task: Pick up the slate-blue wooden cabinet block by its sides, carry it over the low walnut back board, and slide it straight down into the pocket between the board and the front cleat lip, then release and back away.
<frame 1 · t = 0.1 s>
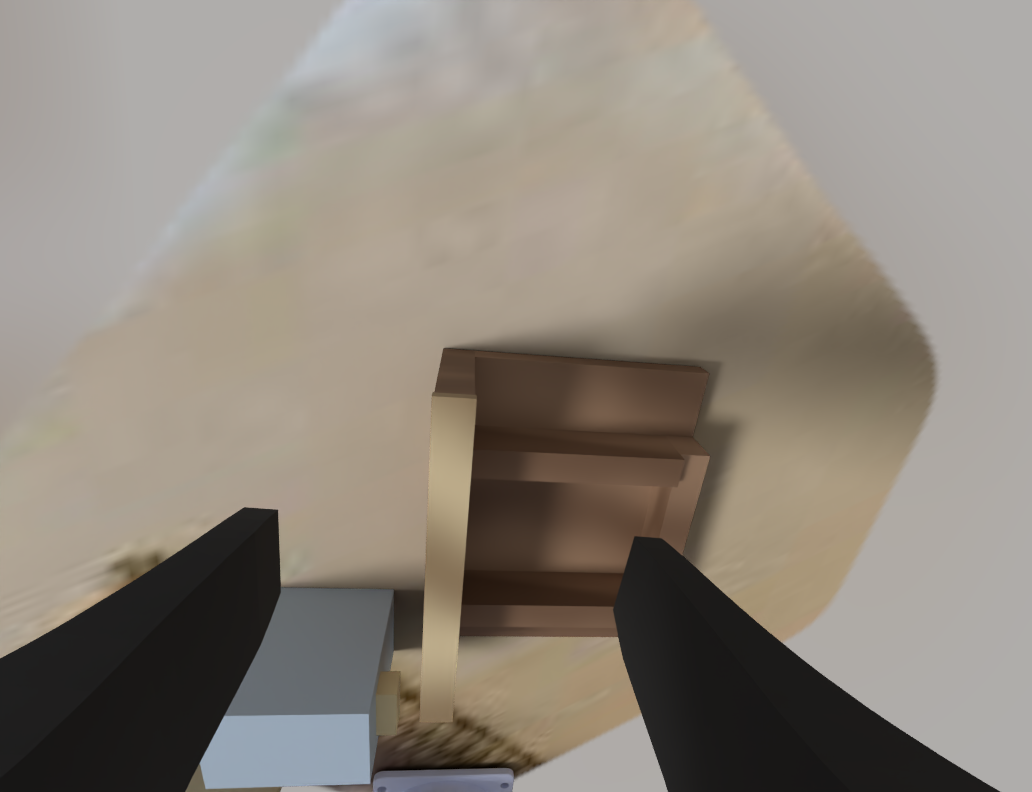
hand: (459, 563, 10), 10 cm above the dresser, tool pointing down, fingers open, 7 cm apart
rack: (553, 506, 21), on the dresser
skincare box: (227, 765, 26), on the dresser
cabinet block: (330, 619, 23), on the dresser
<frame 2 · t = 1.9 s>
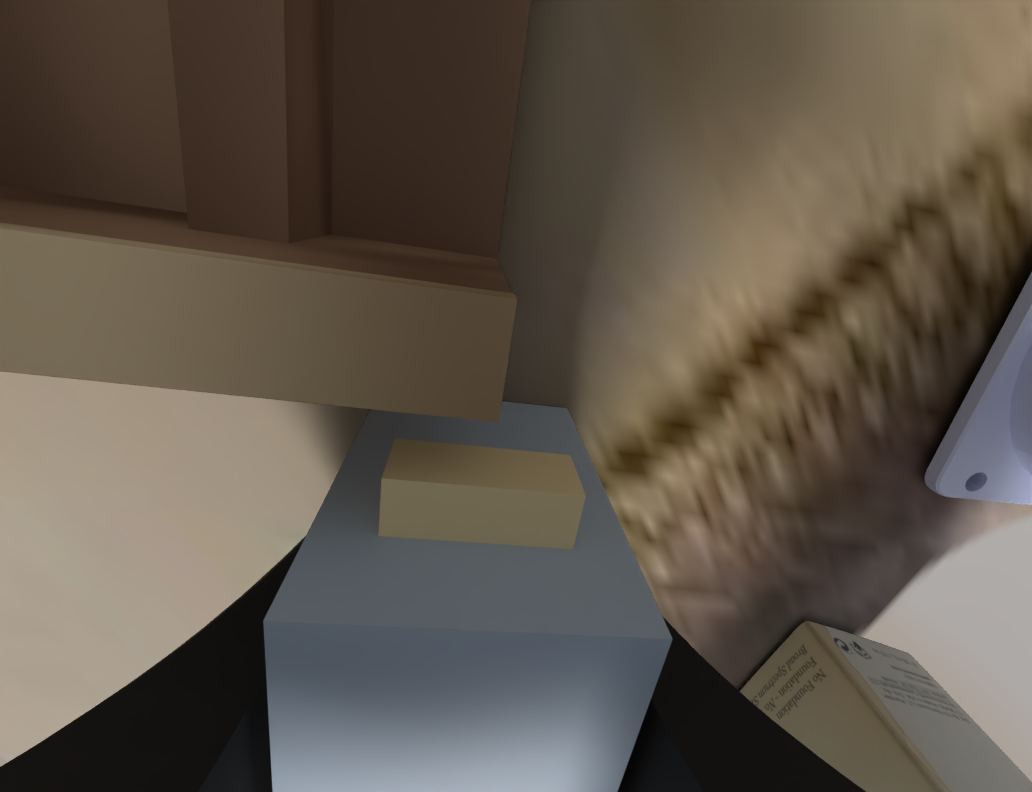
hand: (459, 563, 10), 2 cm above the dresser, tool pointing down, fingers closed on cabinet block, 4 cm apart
skincare box: (789, 696, 15), on the dresser
cabinet block: (461, 515, 11), on the dresser, touching gripper
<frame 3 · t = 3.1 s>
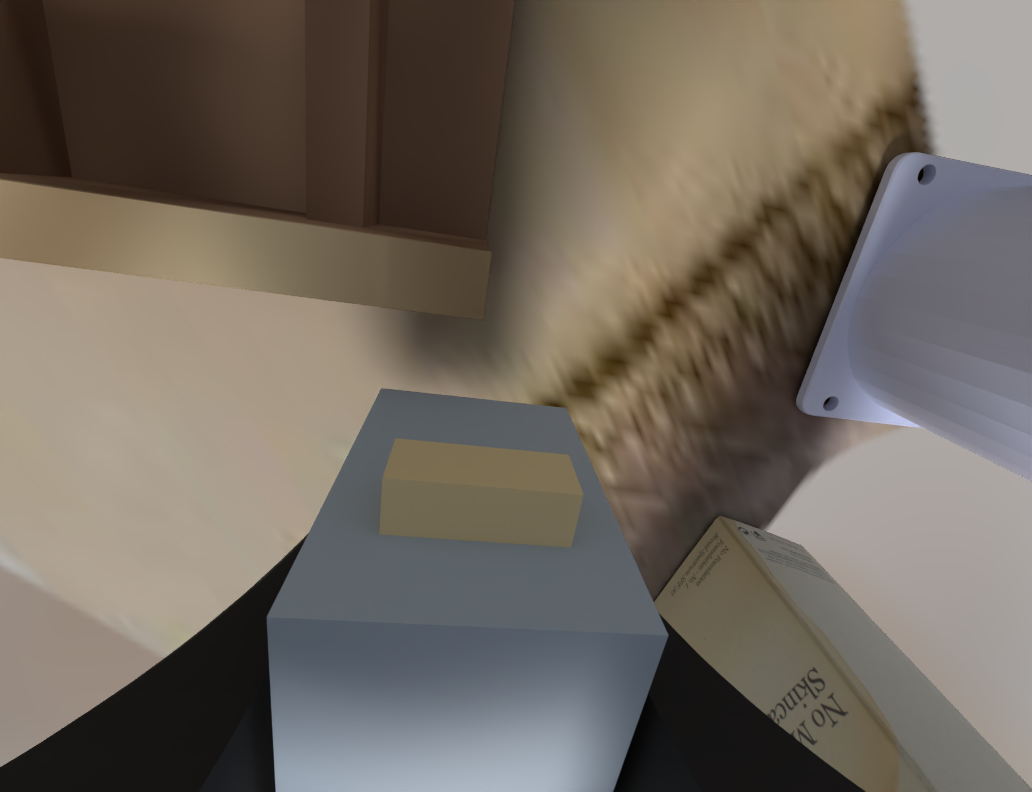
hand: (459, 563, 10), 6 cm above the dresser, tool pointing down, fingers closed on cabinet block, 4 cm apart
rack: (209, 15, 11), on the dresser
skincare box: (714, 583, 20), on the dresser
cabinet block: (461, 514, 11), point 5 cm above the dresser, touching gripper
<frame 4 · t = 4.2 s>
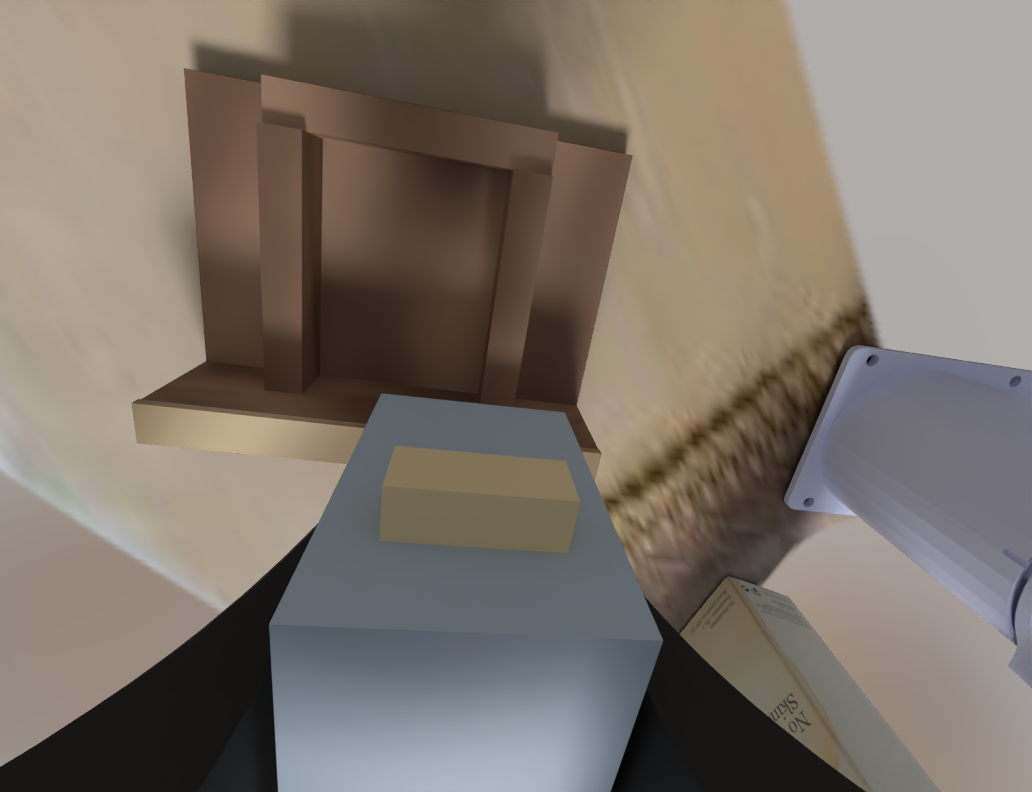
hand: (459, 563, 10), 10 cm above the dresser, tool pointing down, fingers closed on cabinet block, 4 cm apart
rack: (411, 276, 18), on the dresser
skincare box: (723, 623, 26), on the dresser
cabinet block: (461, 517, 11), point 9 cm above the dresser, touching gripper
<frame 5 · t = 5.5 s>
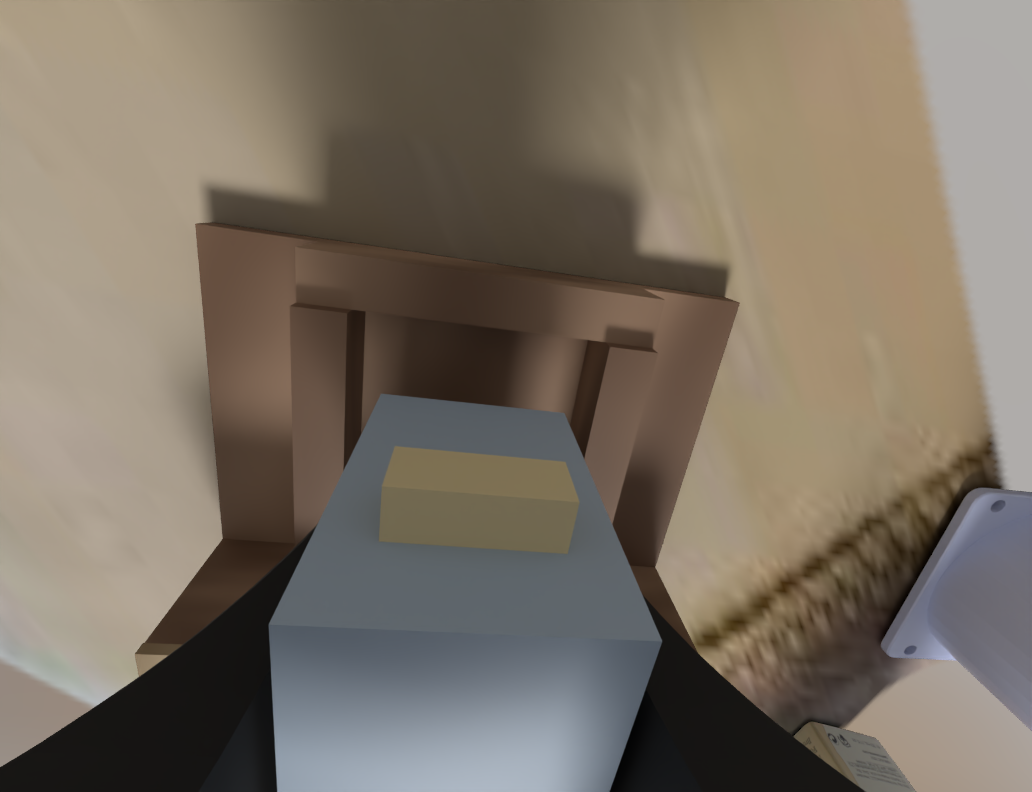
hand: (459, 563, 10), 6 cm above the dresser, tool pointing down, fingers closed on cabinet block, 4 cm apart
rack: (465, 433, 15), on the dresser
skincare box: (799, 762, 23), on the dresser
cabinet block: (460, 517, 11), point 4 cm above the dresser, touching gripper
when the fingers open (3 cm above the dresser, at t = 6.4 s): cabinet block stays where it is, resting on rack.
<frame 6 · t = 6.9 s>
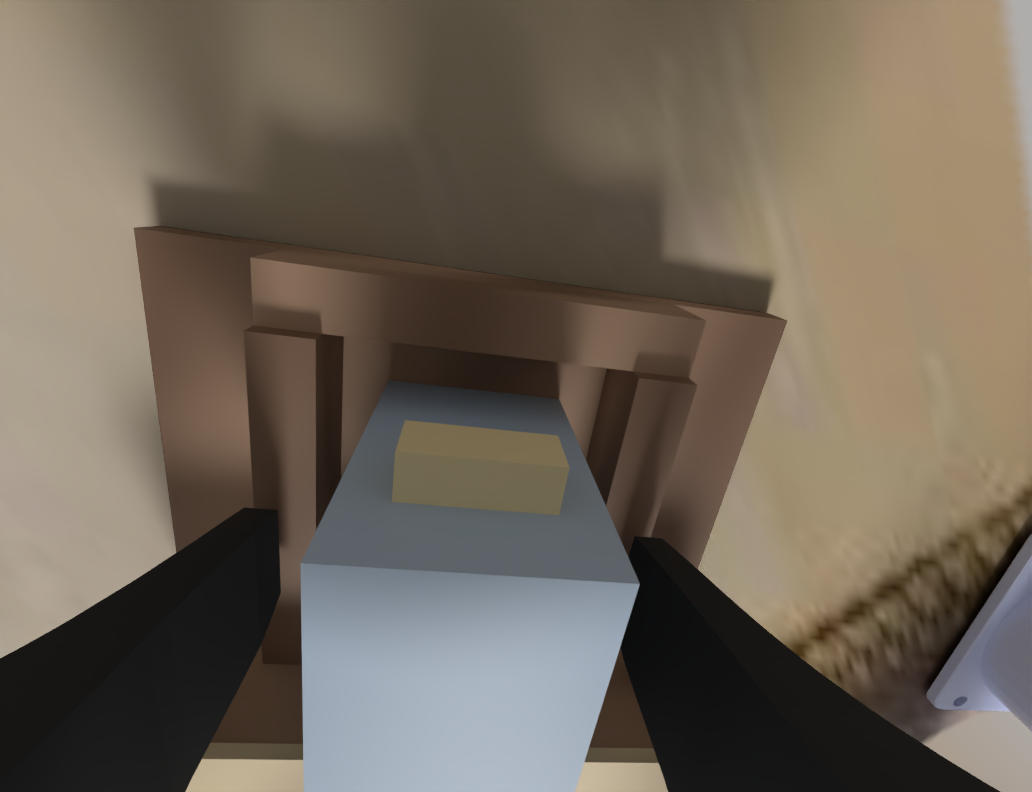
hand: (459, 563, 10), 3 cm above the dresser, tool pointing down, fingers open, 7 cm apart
rack: (463, 469, 13), on the dresser
cabinet block: (461, 498, 12), point 1 cm above the dresser, touching rack
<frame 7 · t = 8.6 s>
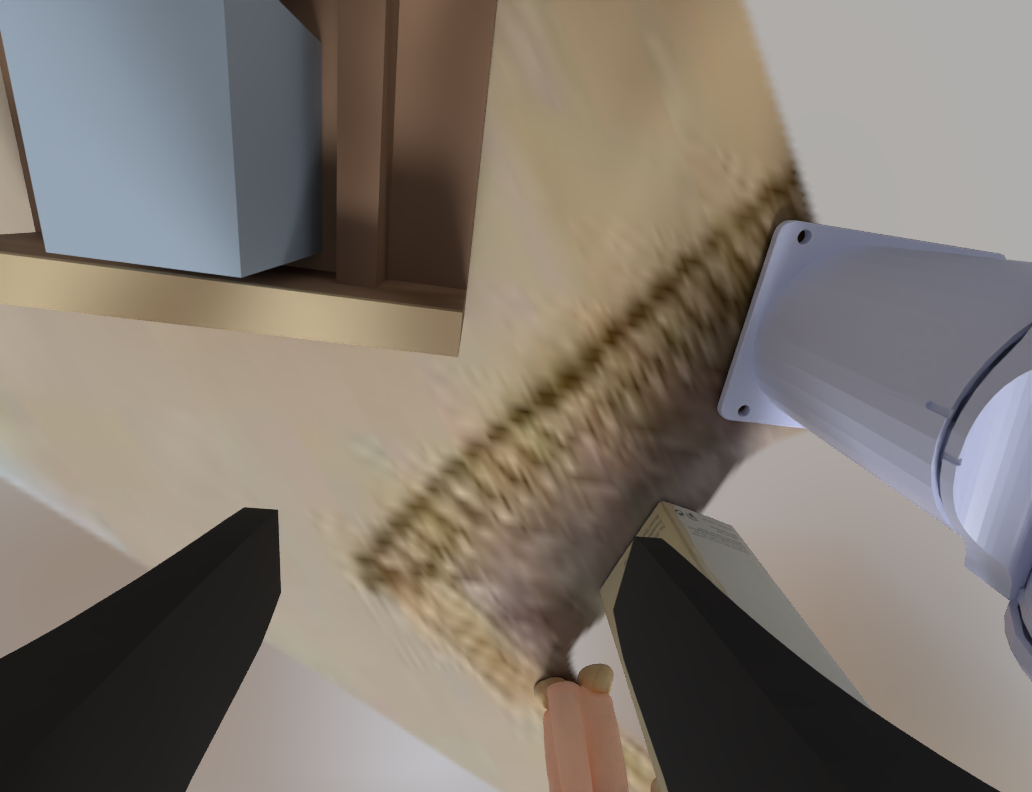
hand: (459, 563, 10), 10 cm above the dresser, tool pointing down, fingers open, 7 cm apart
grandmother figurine: (565, 686, 27), on the dresser
rack: (266, 134, 16), on the dresser
skincare box: (662, 557, 24), on the dresser
cabinet block: (256, 144, 15), point 1 cm above the dresser, touching rack
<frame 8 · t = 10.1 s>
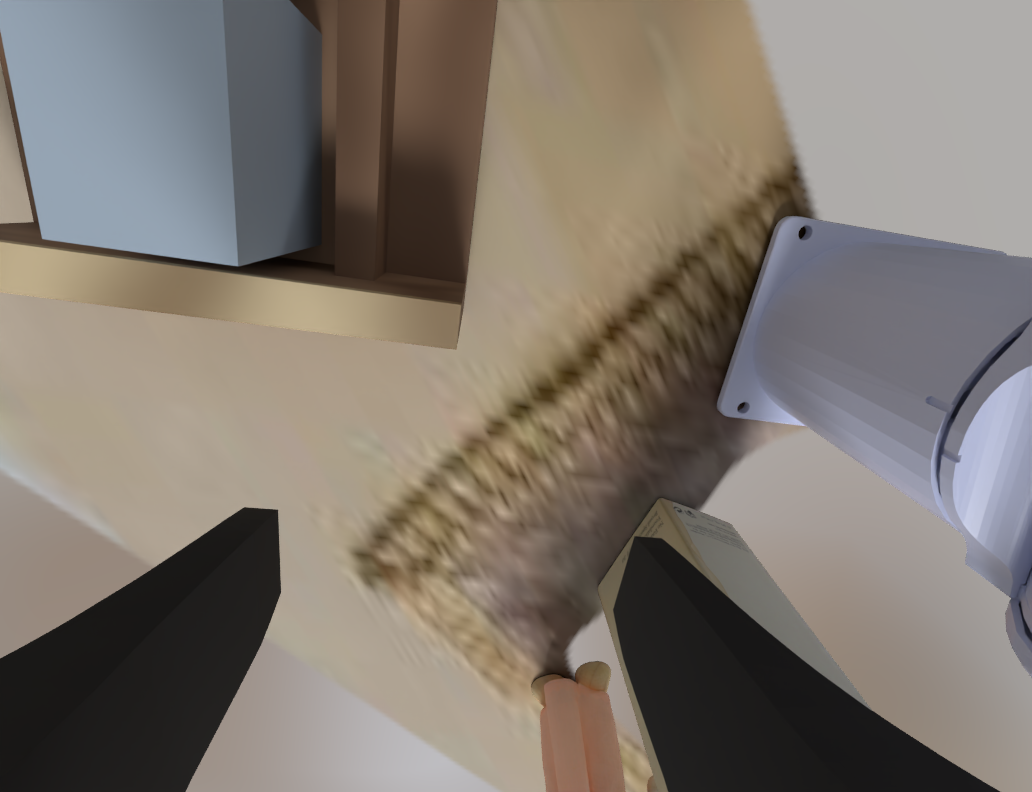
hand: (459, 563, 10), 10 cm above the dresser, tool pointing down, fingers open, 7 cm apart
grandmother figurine: (562, 683, 27), on the dresser
rack: (265, 125, 16), on the dresser
skincare box: (660, 555, 24), on the dresser
cabinet block: (255, 135, 15), point 1 cm above the dresser, touching rack
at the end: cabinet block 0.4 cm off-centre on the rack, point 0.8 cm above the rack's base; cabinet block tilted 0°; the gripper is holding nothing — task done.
